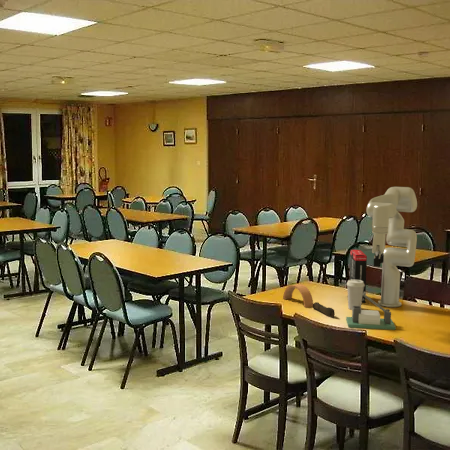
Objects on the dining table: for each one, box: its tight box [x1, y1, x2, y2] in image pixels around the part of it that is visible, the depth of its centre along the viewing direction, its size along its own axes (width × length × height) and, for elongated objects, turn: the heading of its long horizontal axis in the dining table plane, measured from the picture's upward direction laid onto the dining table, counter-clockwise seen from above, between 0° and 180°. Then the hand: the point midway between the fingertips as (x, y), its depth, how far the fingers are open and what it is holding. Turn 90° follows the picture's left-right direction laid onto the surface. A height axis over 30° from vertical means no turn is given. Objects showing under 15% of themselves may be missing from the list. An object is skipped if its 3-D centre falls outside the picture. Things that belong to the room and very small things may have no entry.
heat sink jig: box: [345, 306, 397, 331], centre depth 296 cm, size 13×22×8 cm, turn 83°
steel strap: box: [362, 291, 388, 313], centre depth 295 cm, size 3×16×2 cm
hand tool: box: [312, 301, 335, 319], centre depth 315 cm, size 19×4×5 cm, turn 18°
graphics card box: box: [349, 249, 368, 304], centre depth 343 cm, size 17×7×27 cm, turn 179°
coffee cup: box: [346, 279, 365, 311], centre depth 324 cm, size 10×10×15 cm
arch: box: [282, 284, 314, 308], centre depth 335 cm, size 6×20×10 cm, turn 30°
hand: (378, 264), depth 298 cm, fingers open, 9 cm apart
